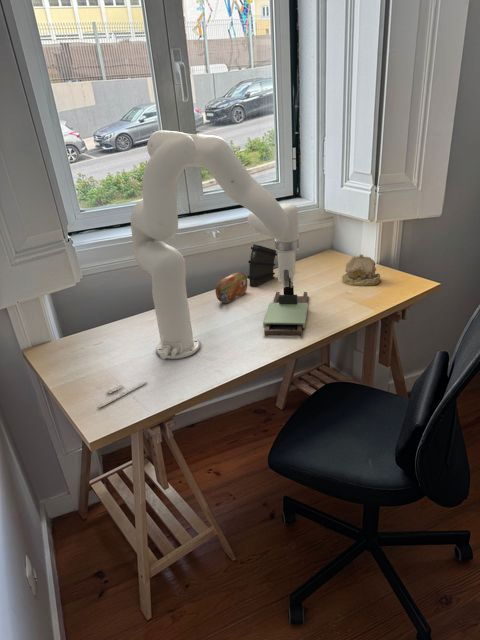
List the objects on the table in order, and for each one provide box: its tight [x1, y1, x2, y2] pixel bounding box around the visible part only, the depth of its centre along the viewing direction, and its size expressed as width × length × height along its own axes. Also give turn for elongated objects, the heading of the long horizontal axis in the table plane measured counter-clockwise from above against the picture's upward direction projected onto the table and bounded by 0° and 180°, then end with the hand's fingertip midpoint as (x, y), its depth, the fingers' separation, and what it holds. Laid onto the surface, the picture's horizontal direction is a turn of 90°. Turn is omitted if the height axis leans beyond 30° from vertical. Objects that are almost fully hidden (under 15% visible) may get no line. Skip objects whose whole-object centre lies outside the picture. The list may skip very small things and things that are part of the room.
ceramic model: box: [343, 254, 381, 286], centre depth 185 cm, size 14×11×10 cm
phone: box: [272, 324, 297, 330], centre depth 158 cm, size 14×7×1 cm, turn 172°
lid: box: [262, 294, 309, 329], centre depth 159 cm, size 15×13×5 cm
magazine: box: [247, 243, 278, 287], centre depth 190 cm, size 4×13×15 cm, turn 137°
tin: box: [215, 272, 248, 304], centre depth 178 cm, size 15×3×8 cm, turn 143°
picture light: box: [98, 382, 145, 408], centre depth 129 cm, size 14×4×2 cm, turn 138°
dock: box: [264, 291, 308, 337], centre depth 164 cm, size 30×11×2 cm, turn 172°
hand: (288, 297), depth 167 cm, fingers closed
